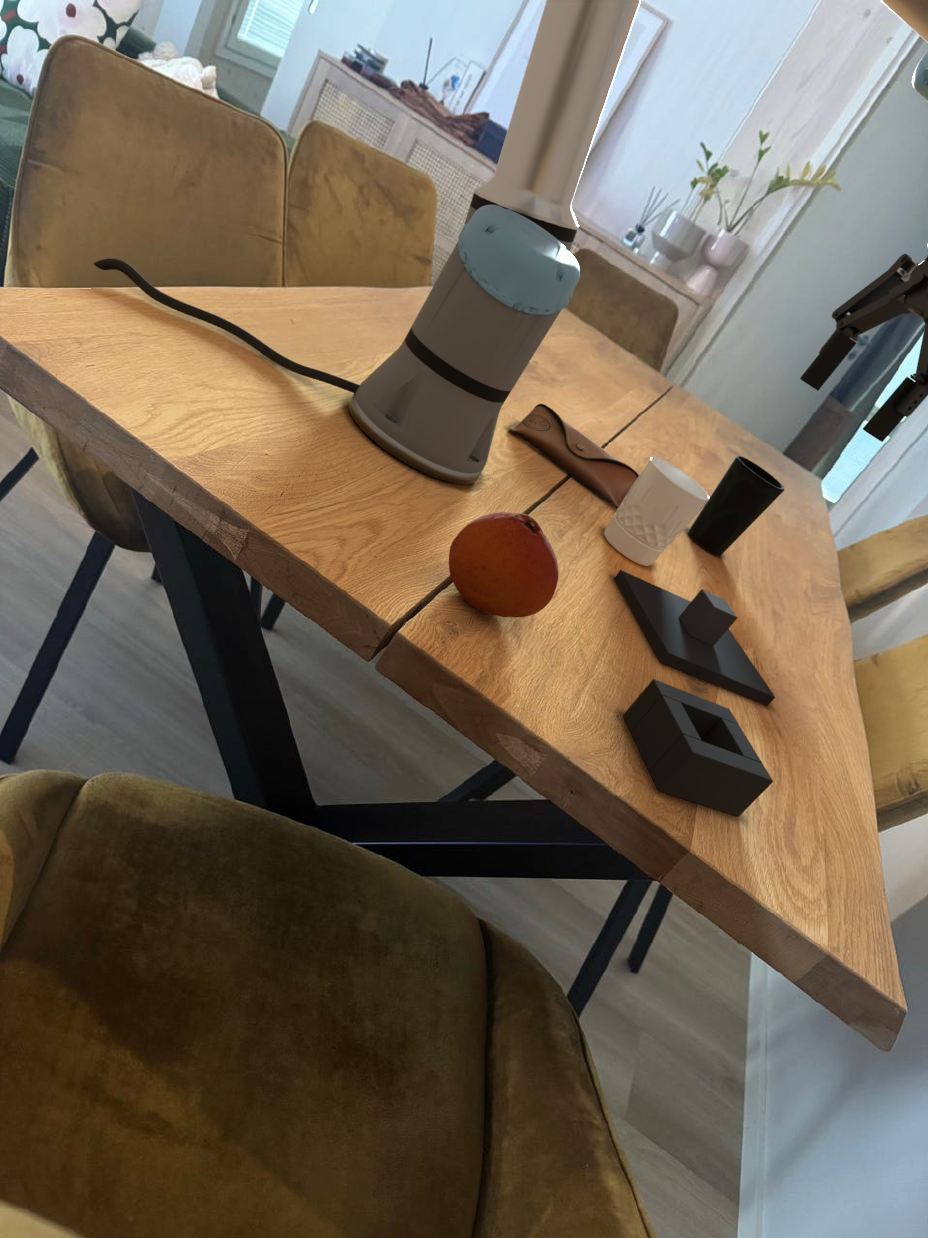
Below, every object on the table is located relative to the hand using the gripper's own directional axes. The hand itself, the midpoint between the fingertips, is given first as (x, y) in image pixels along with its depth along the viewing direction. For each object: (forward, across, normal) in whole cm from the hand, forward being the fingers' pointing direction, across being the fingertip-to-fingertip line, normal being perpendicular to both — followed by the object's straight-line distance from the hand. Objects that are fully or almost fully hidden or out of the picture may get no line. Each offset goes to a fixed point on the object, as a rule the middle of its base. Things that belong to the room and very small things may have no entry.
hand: (838, 409), depth 102 cm
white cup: (+25, -2, +13) cm, 28 cm away
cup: (+24, +12, -7) cm, 28 cm away
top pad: (+24, -41, +26) cm, 54 cm away
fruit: (+25, -28, +40) cm, 55 cm away
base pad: (+24, -20, +13) cm, 34 cm away
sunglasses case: (+25, +17, +15) cm, 33 cm away
